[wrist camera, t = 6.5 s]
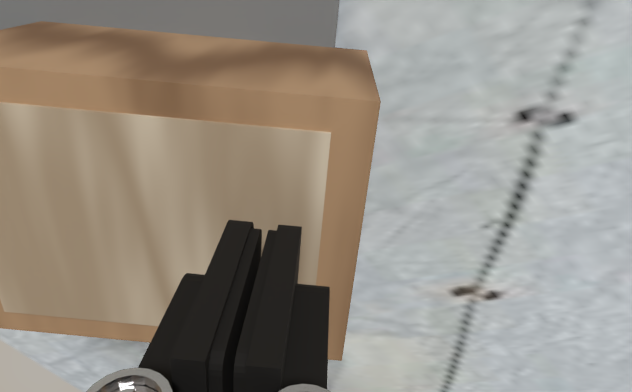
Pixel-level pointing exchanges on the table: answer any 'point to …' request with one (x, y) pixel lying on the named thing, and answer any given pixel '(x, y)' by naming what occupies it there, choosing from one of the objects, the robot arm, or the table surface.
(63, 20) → the mat
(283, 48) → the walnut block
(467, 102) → the table surface
